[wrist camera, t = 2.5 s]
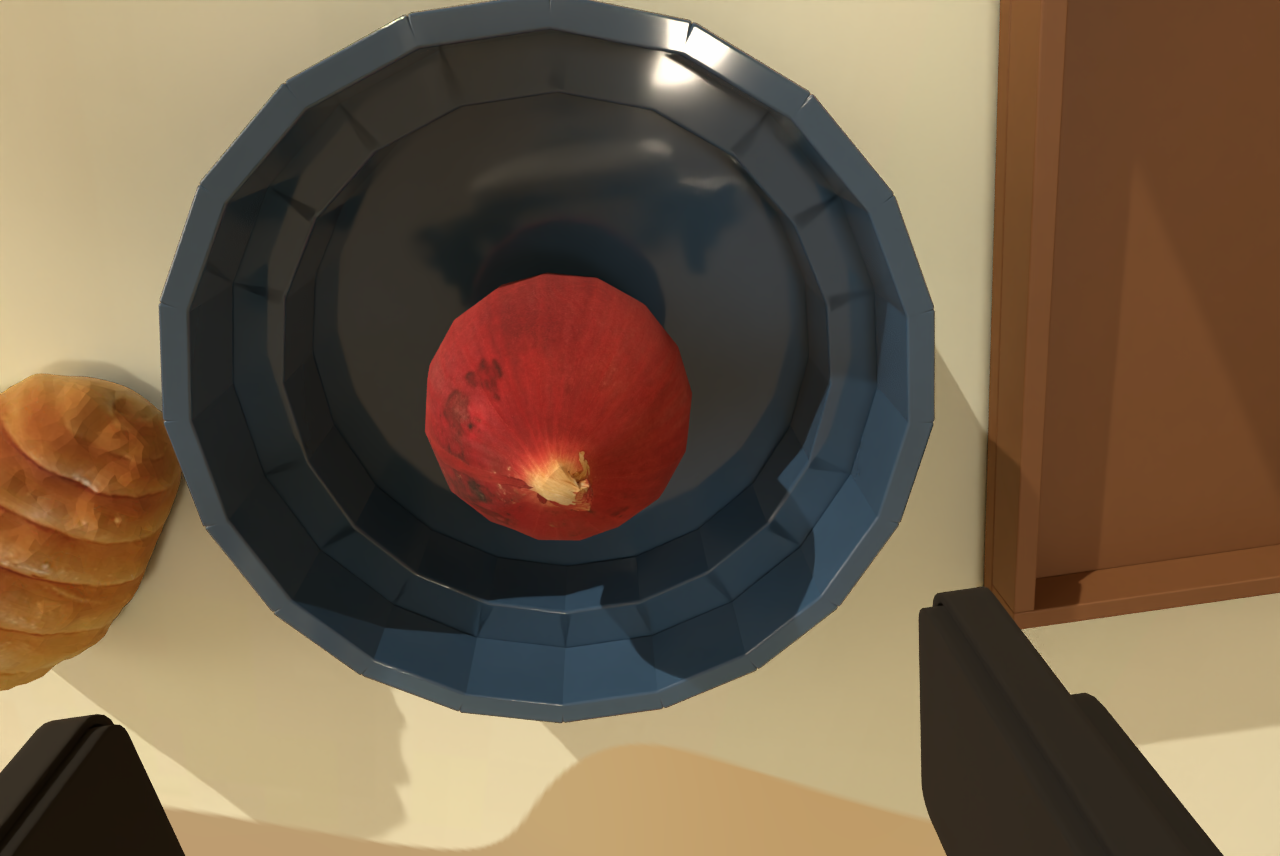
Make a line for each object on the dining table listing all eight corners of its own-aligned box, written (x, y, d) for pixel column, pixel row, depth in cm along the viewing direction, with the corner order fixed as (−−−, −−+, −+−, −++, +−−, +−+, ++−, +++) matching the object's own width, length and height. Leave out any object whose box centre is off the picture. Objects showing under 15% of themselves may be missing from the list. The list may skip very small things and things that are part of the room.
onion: (499, 478, 24) (457, 665, 17) (416, 284, 22) (326, 400, 14) (700, 418, 24) (748, 582, 16) (638, 212, 21) (661, 295, 14)
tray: (1002, -137, 19) (1048, -159, 17) (1510, -213, 19) (1614, -244, 17) (983, 589, 27) (1013, 631, 25) (1344, 538, 27) (1403, 576, 25)
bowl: (156, 66, 20) (24, 70, 15) (856, -39, 20) (935, -67, 15) (346, 639, 26) (293, 762, 22) (875, 563, 26) (935, 671, 22)
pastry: (34, 295, 22) (-72, 342, 18) (261, 462, 24) (205, 533, 20) (-147, 530, 24) (-271, 612, 21) (75, 663, 26) (-4, 758, 23)
